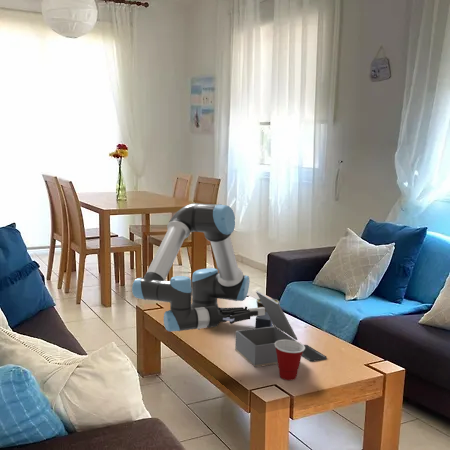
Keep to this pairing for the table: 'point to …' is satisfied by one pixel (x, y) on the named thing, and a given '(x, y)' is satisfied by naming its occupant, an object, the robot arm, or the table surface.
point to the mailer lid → (276, 314)
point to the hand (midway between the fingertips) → (264, 311)
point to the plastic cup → (288, 358)
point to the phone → (312, 354)
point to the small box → (263, 321)
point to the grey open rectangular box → (259, 345)
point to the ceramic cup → (259, 304)
